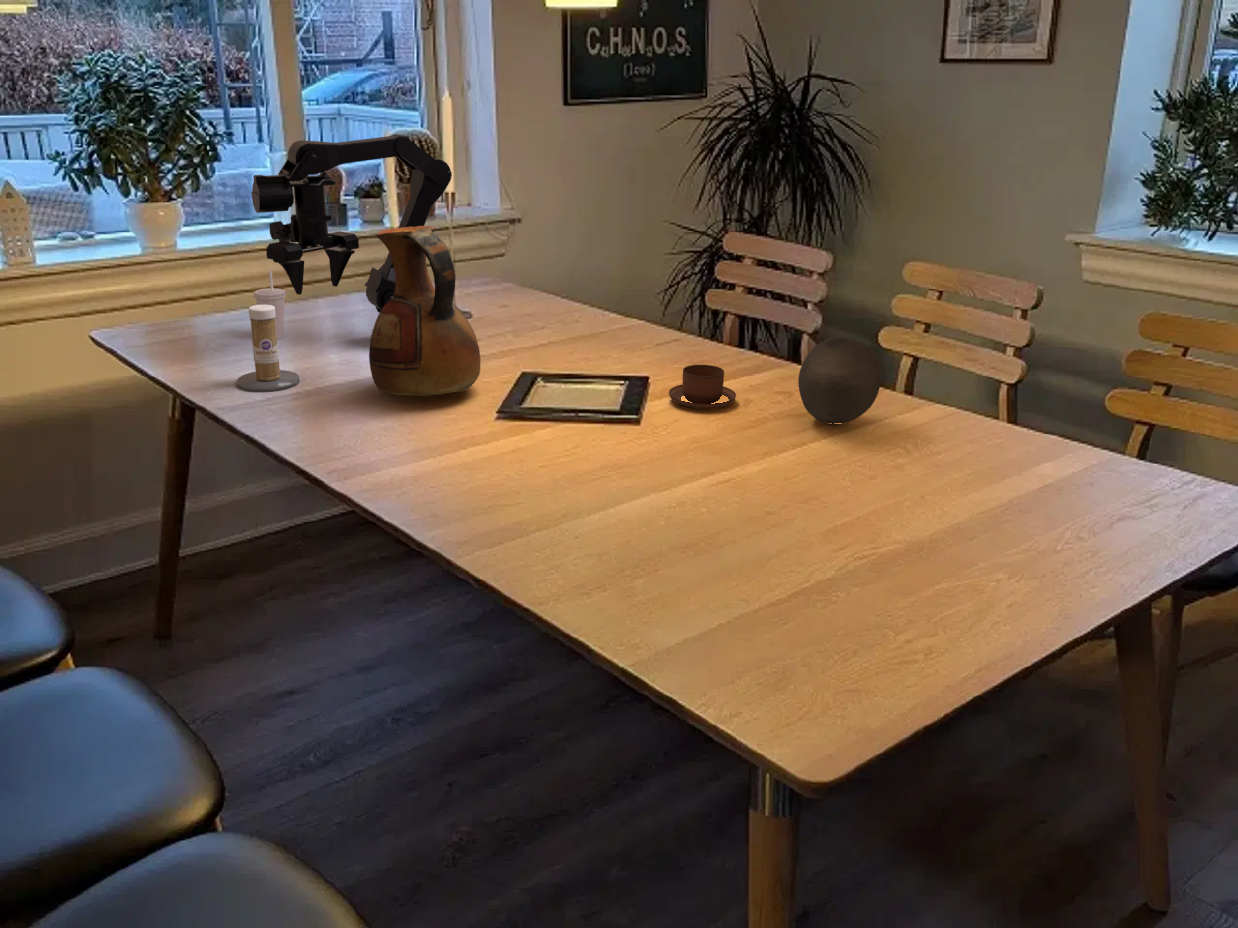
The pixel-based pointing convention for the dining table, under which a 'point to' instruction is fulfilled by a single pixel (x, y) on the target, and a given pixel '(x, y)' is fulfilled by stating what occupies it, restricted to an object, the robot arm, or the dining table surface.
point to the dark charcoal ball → (839, 380)
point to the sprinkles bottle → (264, 342)
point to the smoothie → (273, 303)
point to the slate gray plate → (268, 382)
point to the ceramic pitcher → (422, 322)
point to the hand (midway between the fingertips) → (317, 290)
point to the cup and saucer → (702, 387)
